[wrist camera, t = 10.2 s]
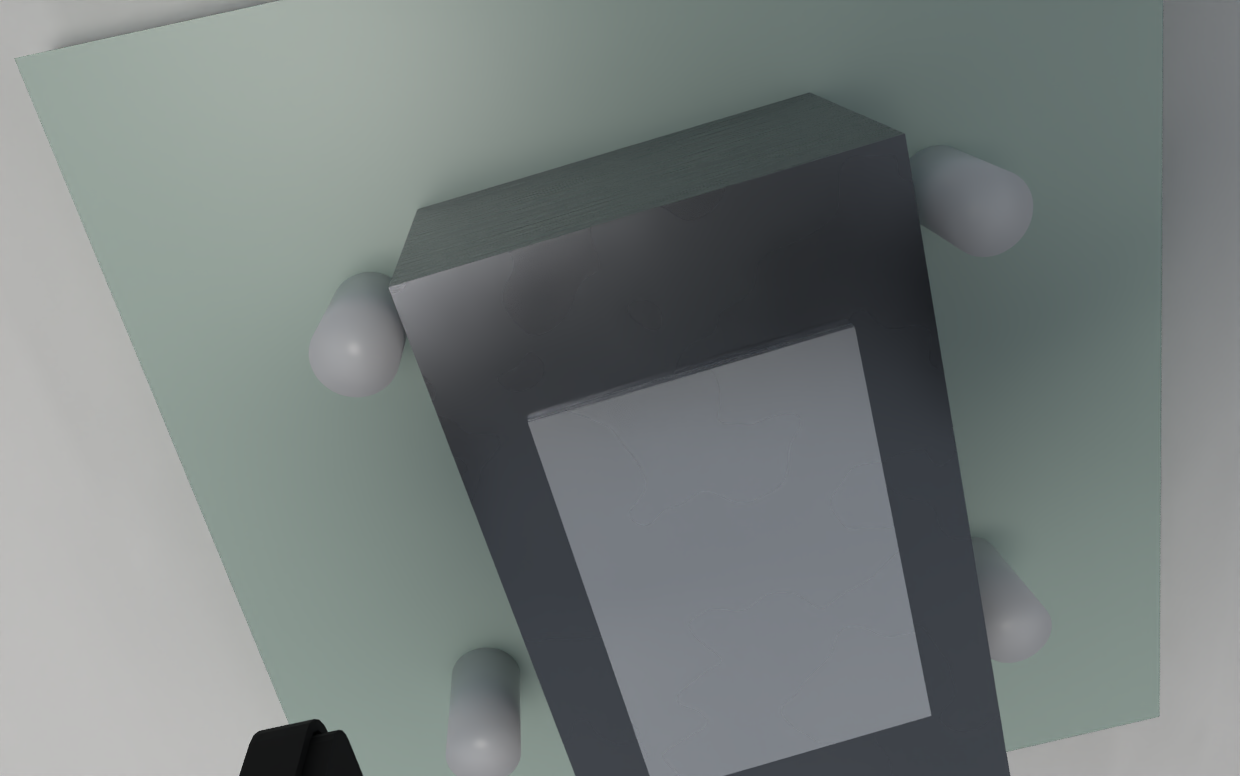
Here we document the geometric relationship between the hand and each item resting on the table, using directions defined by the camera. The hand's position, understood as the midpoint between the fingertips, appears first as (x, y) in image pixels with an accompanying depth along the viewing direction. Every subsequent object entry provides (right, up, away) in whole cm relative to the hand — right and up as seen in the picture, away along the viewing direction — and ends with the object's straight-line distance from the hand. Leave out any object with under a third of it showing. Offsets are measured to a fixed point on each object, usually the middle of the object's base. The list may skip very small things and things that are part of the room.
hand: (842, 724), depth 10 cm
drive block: (-1, +2, +7) cm, 8 cm away
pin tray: (-1, +3, +8) cm, 9 cm away
